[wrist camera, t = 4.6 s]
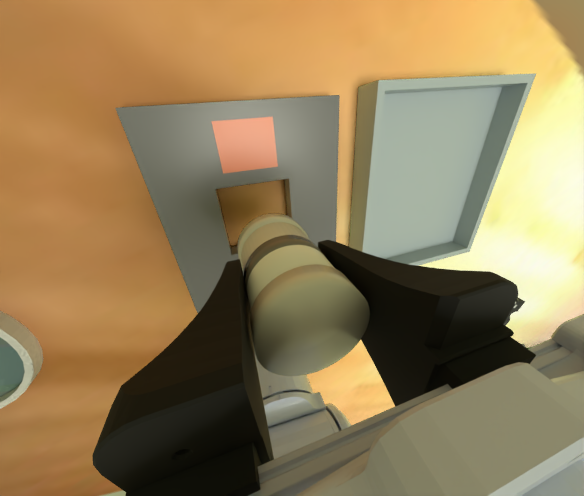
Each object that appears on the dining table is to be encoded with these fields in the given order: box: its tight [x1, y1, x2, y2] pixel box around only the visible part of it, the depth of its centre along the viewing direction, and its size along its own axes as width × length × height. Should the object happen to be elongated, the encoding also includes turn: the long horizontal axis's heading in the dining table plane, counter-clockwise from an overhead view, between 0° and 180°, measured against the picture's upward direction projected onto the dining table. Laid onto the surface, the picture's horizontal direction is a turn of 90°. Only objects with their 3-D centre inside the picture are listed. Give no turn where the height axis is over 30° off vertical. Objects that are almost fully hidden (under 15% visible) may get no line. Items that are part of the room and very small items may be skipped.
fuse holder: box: [116, 95, 339, 313], centre depth 18 cm, size 16×14×2 cm
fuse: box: [237, 213, 370, 376], centre depth 10 cm, size 4×4×7 cm
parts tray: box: [349, 74, 536, 266], centre depth 22 cm, size 17×15×2 cm
